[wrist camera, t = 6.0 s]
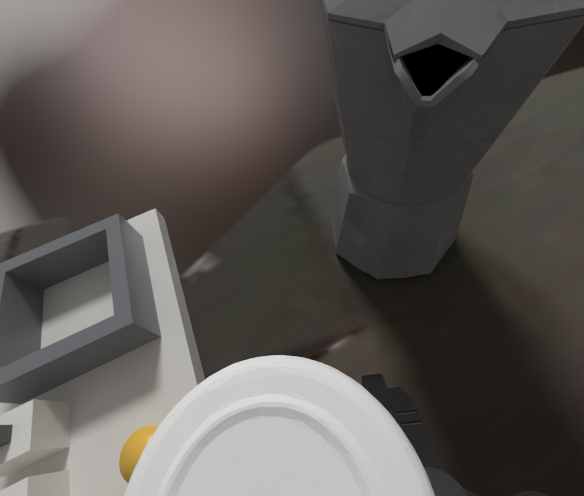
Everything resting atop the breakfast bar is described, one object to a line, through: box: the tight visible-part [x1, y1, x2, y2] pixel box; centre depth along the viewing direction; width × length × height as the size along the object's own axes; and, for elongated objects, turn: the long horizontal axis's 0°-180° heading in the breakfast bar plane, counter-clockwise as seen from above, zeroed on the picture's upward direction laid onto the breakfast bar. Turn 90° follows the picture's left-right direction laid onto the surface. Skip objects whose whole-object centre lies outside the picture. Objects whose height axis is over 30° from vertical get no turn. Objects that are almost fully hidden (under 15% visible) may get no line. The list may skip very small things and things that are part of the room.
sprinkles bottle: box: [124, 355, 435, 496], centre depth 9 cm, size 5×5×14 cm
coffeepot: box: [320, 0, 584, 279], centre depth 15 cm, size 15×9×18 cm, turn 160°
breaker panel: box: [0, 209, 205, 496], centre depth 17 cm, size 14×24×5 cm, turn 24°
